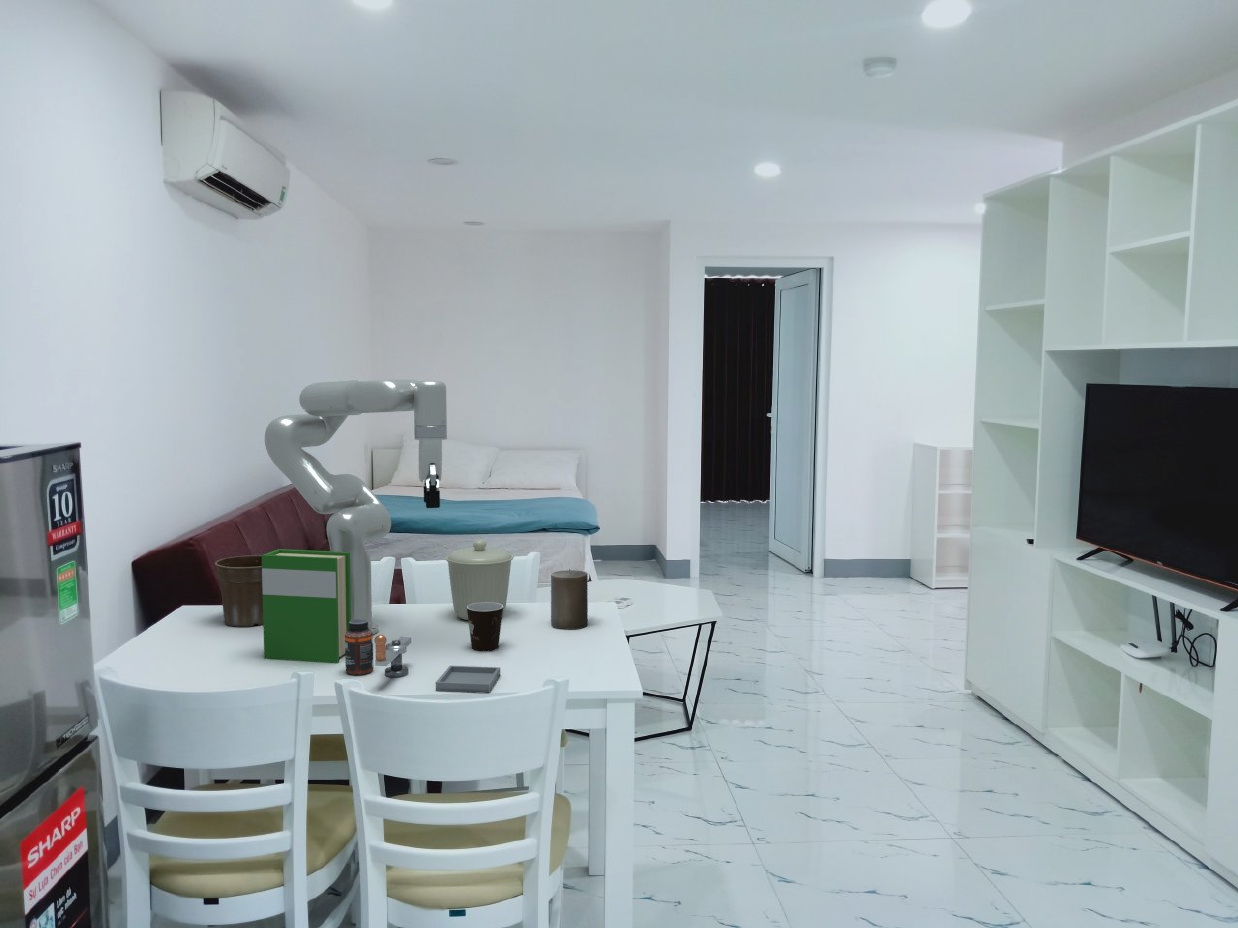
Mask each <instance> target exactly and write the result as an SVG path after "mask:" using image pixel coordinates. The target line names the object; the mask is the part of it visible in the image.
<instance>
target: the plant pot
mask: <svg viewBox="0 0 1238 928" xmlns="http://www.w3.org/2000/svg"><path fill="white" fill-rule="evenodd" d="M262 555H263V554H261V555H259V554H251V555H238V556H230V557H224V558H221V559H218V560H216V561H215V562H214V565H215V566H216V570H217V579H219V583H220V586H219V587H220V593H221V602H222V612H223V622H224V624H226V625H227V626H231V627H237V628H244V627H245V628H246V627H247V628H249V627H253V626H254V625H258V626H263V586H262Z"/></svg>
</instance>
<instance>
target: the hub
mask: <svg viewBox="0 0 1238 928" xmlns="http://www.w3.org/2000/svg"><path fill="white" fill-rule="evenodd" d="M408 675H409V667H407V666H404V665H403V654H399V655H398V656H397V657H396V658H395V659H394V660H393V661H392V662H390V666H388V667H386V668H385V669H384V676H385V677H386V678H392V679H393V678H394V679H396V678H403V677H406V676H408Z"/></svg>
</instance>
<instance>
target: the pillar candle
mask: <svg viewBox="0 0 1238 928" xmlns="http://www.w3.org/2000/svg"><path fill="white" fill-rule="evenodd" d="M588 575H589V574H588V572H587V571H583V570H577V569H576V570H575V569H573V570H572V569H570V568H568V569H566V570H557V571H553V572H552V573H550V625H551V626H552V628H555V629H560V630H578V629H582V628H586V627H587V626H588V624H589V622H588V621H589V620H588V618H589V617H588V616H589V615H588V614H589V613H588V612H589V610H588V609H589V608H588V607H589V606H588V605H589V604H588V595H589V594H588V590H589V589H588V588H589V587H588V582H589V581H588V577H589V576H588Z"/></svg>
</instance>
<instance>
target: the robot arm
mask: <svg viewBox="0 0 1238 928" xmlns="http://www.w3.org/2000/svg"><path fill="white" fill-rule="evenodd" d="M298 399H299V405H300V408H301V409H302V410H303V411H304V412H305V414H288V415H282V416H278V417H276V418H274V419H273V420H271V421H270V422H269V424H267V427H266V428H265V432H264V445H265V449H266V450H265V451H266V453H267V455H268V457H269V458H270V460H271V461H272V463H273V464H274V465H275V467H277V468H278V470H279V471H280V472H281V473H282V474H283V475H284V476H285V477H286V478H287V479H288V480H289V481H290V482H291V483H292V485H293V486H294V488H295V489H296V490H297V491H298V492H299V494H300V495H301V496H302V498H303V499H304V500H305V502H306V503H307V504H308V505H309V506H310V507H311V508H312V509H313V511H315V512H316V513H317V514H321V515H330V514H332V515H331V516H330V517H329V519H328V521H327V523H326V535H327V539H328V544H329V551H332V552H350V587H351V621H352V620H356V619H365V620H368V628H369V629H370V630H371V631H372V633H373V635H375V634H376V633H377V634H378V632H379V626H378V624H377V623H374V622H373V618H372V617H373V615H372V614H373V607H372V605H373V603H372V602H373V601H372V561H371V557H370V556H371V555H370V554H369V551H368V549H367V547H366V543H367V544H368V543H371V542H375V541H378V540H381V539H382V538H385V537H386V536H387V535H388V534H389V533H390V532H391V531H390V530H391V527H392V520H391V516H390V513H389V512H388V510H387V508H386V507H385V506H384V504H383V503H382V501H380V499H379V498H378V497H377V496H376V494H374V492H373V491H372V490H371V489H370V488H369V487H368V485H367V484H366V483H365V482H364V481H363V480H362V479H361V478H360V477H358V476H356V475H354V474H351V473H341V474H340V473H338V474H332V473H330V472H329V471H328V470H327V469H326V468H325V467H324V466H323V464H322V463H321V462H320V461H319V460H318V459H317V458H316V457H315V456H313V455H312V454H311V453H308V452H307V451H305V450H304V449H303V448H313V447H319V446H323V445H324V444H326V443H328V441H330V440H331V438H333V436H334V435H335V434H336V432H337V431H338V429H339V428H340V427H341V426H342V424H343V423H344V422H345V421H346V419H347V418H348V417H349V416H359V415H361V414H369V413H371V414H372V413H374V414H375V413H393V412H394V413H395V412H413V416H414V417H413V418H414V419H413V420H414V423H413V425H414V428H413V429H414V430H413V433H414V434H413V435H414V440H415V441H418V480H419V481H420V482H421V483H424V485H423V502H424V503H425V508H426V509H439V508H441V490H440V485H439V484H440V481H441V480H442V469H443V467H442V466H443V441H445V440H447V439H448V434H447V433H448V429H447V428H448V422H447V416H448V415H447V414H448V413H447V385H446V383H444V382H443V381H441V380H415V379H379V380H377V379H376V380H363V381H362V380H361V381H359V380H358V379H357V380H356V379H355V380H338V381H323V382H314V383H311V384H308V385H307V386H305V387H304V388H303V389H302V390H301V391H300V394H299V398H298Z"/></svg>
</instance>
